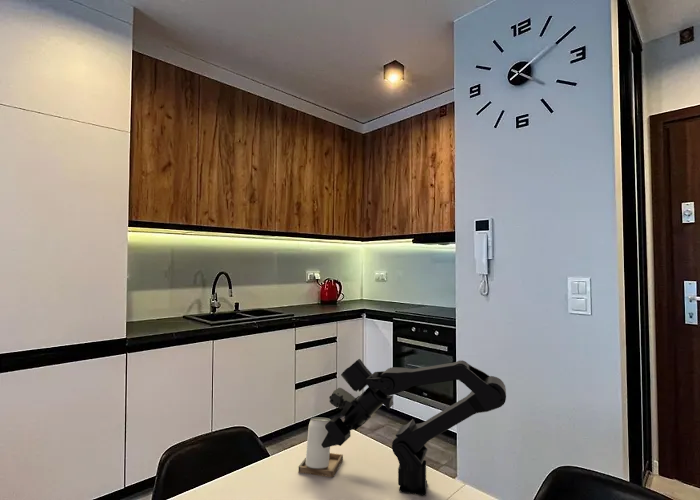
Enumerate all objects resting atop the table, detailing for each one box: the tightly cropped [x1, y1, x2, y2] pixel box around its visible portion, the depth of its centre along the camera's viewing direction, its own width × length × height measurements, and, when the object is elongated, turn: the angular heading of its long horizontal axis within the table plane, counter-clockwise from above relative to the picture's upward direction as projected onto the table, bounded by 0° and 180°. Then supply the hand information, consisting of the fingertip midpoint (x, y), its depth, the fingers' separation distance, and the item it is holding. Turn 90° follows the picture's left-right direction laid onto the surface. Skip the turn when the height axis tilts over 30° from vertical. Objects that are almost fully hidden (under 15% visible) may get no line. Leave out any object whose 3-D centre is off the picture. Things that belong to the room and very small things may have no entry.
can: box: [305, 417, 331, 469], centre depth 107 cm, size 6×6×12 cm
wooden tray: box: [298, 452, 344, 478], centre depth 107 cm, size 10×10×2 cm
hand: (330, 439), depth 106 cm, fingers open, 9 cm apart
